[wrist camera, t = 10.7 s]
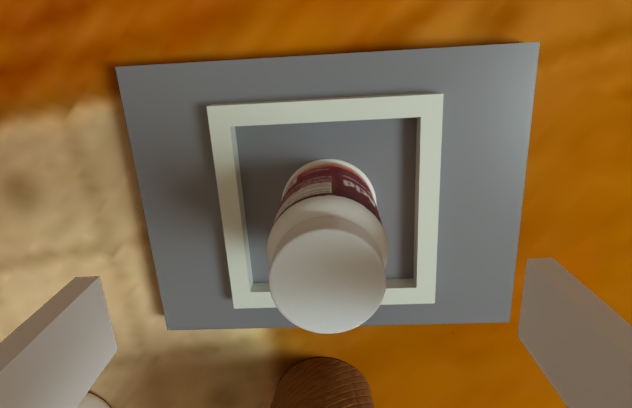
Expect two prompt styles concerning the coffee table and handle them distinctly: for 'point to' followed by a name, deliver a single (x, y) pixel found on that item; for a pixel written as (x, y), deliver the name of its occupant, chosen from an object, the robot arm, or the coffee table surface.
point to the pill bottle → (327, 250)
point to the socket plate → (343, 148)
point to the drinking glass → (92, 402)
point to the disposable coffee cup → (322, 386)
